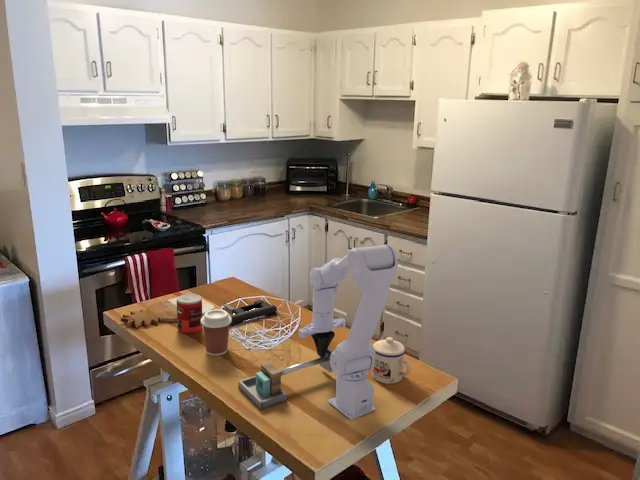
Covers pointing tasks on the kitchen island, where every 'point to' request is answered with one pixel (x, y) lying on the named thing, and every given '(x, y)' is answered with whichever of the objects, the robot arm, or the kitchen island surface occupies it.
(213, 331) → the coffee cup
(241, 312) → the door handle
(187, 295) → the canned food
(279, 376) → the bearing block
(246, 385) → the tray
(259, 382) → the block
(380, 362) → the teacup with lid
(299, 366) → the shaft
